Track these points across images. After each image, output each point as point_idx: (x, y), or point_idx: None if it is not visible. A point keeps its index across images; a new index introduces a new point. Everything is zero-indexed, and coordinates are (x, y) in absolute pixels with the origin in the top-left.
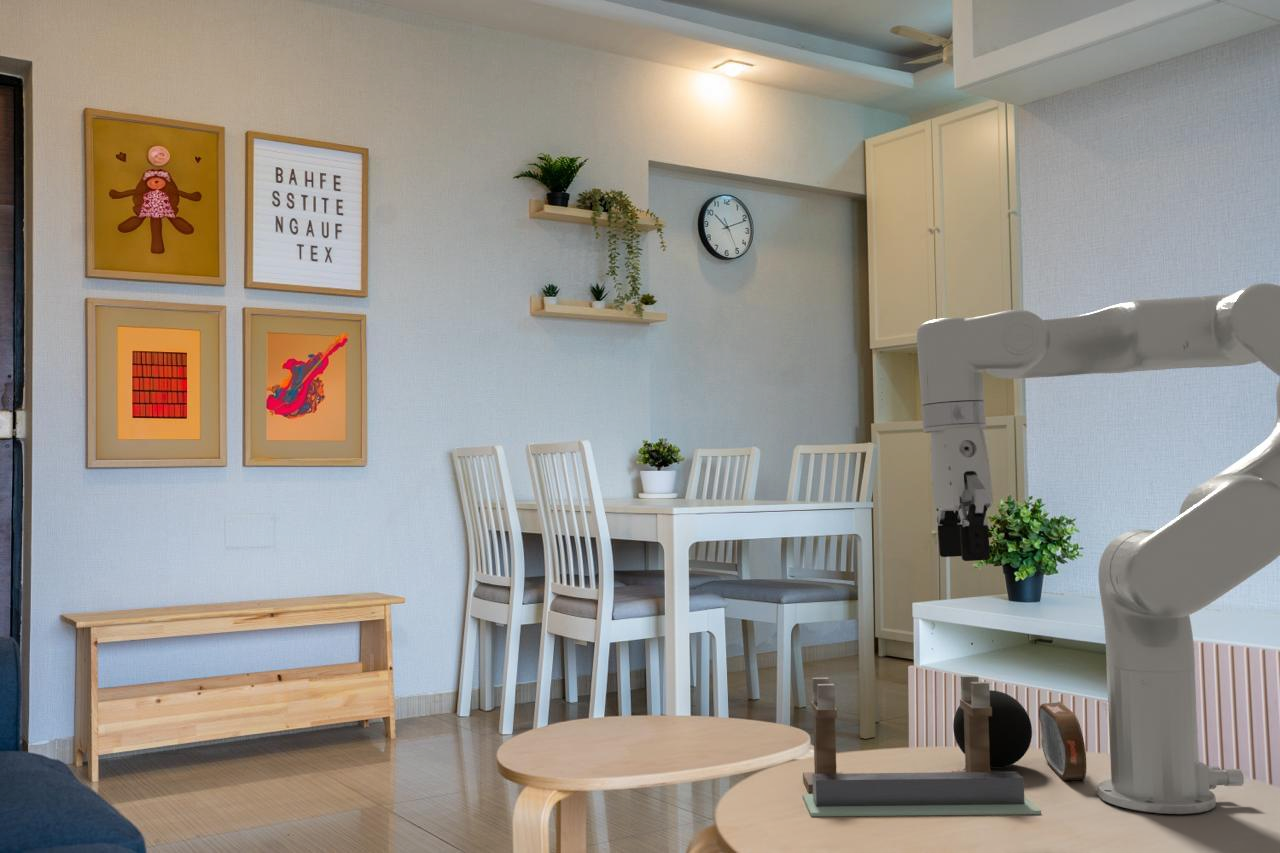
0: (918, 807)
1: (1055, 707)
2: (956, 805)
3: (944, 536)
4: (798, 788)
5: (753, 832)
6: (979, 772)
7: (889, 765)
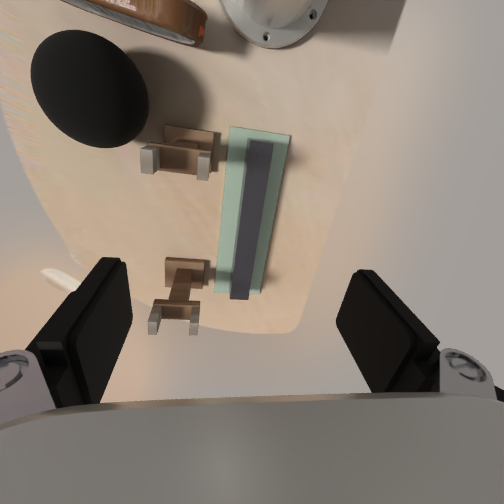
0: (261, 228)
1: None
2: None
3: (110, 363)
4: None
5: (281, 323)
6: (247, 176)
7: (110, 206)
